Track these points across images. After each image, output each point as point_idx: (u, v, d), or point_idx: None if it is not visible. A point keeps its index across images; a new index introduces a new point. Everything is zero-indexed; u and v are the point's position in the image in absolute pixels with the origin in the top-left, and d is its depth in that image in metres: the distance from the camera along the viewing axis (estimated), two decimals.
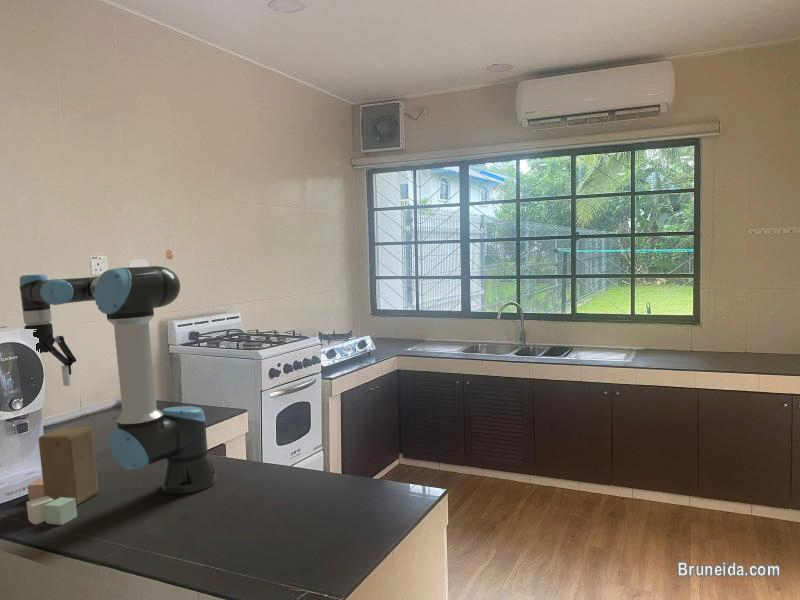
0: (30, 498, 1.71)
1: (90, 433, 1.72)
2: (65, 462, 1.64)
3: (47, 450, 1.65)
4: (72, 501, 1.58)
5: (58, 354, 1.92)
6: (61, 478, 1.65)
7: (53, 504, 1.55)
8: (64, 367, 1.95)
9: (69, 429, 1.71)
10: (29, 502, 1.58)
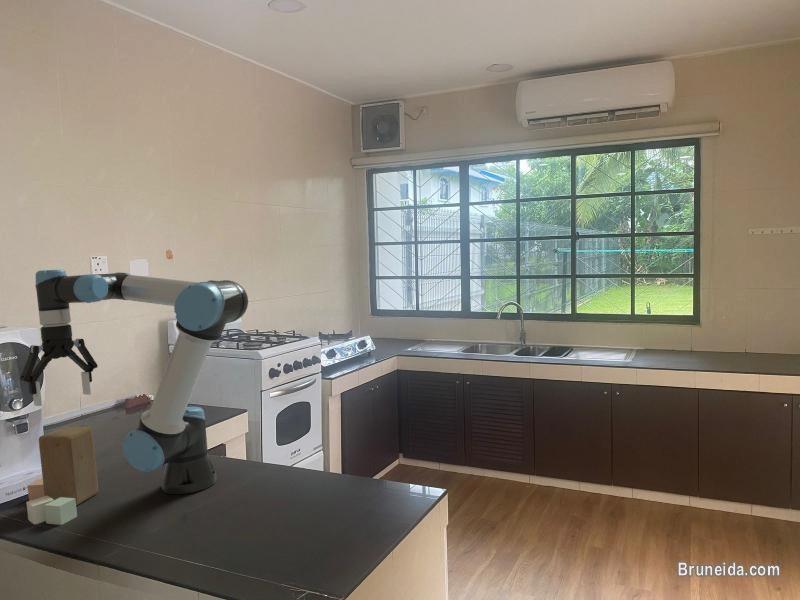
0: (30, 498, 1.71)
1: (90, 433, 1.72)
2: (65, 462, 1.64)
3: (47, 450, 1.65)
4: (72, 501, 1.58)
5: (78, 359, 1.72)
6: (61, 478, 1.65)
7: (53, 505, 1.55)
8: (84, 374, 1.74)
9: (69, 429, 1.71)
10: (29, 502, 1.58)
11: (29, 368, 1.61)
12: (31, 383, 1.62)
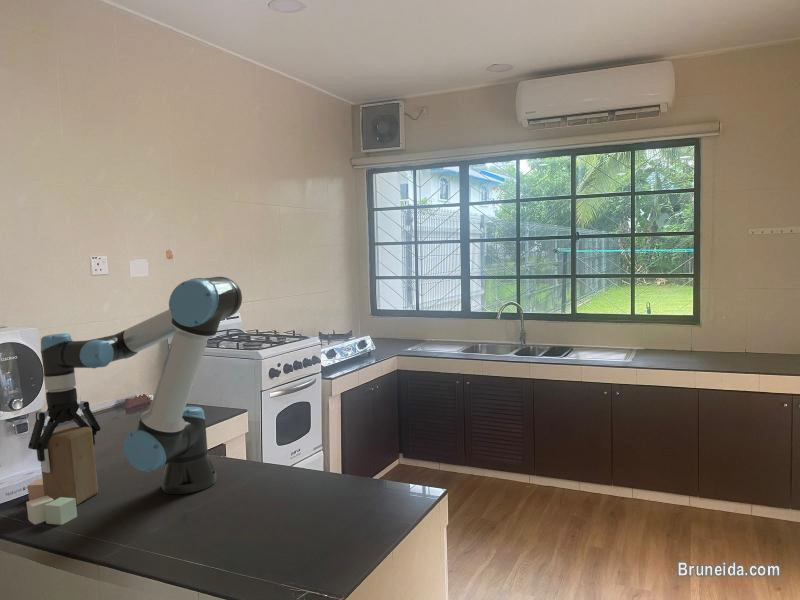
0: (30, 498, 1.71)
1: (90, 433, 1.72)
2: (65, 462, 1.64)
3: None
4: (72, 501, 1.58)
5: (82, 423, 1.72)
6: (61, 478, 1.65)
7: (53, 504, 1.55)
8: None
9: (69, 429, 1.71)
10: (29, 502, 1.58)
11: (37, 436, 1.62)
12: (39, 450, 1.63)
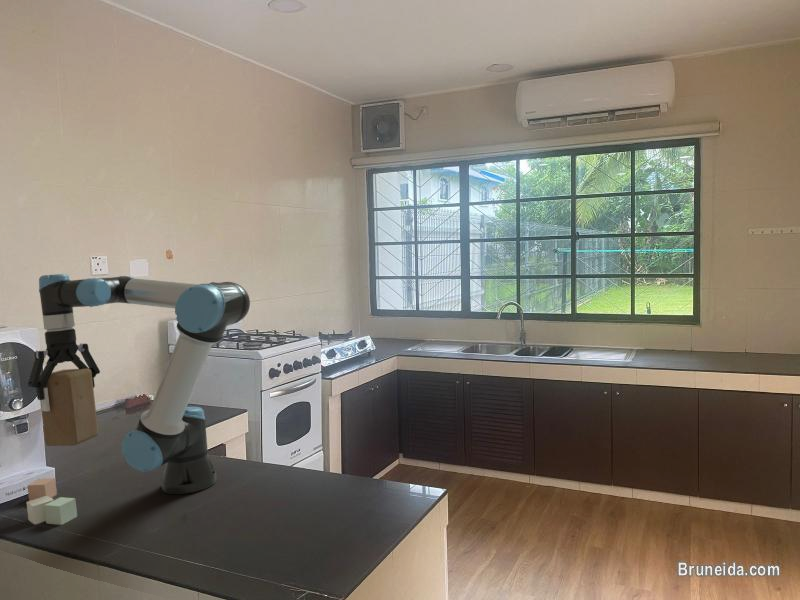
0: (30, 498, 1.71)
1: (89, 374, 1.72)
2: (65, 400, 1.64)
3: None
4: (72, 501, 1.58)
5: (81, 364, 1.72)
6: (61, 417, 1.65)
7: (53, 505, 1.55)
8: None
9: (68, 370, 1.71)
10: (29, 502, 1.58)
11: (36, 374, 1.61)
12: (39, 389, 1.62)
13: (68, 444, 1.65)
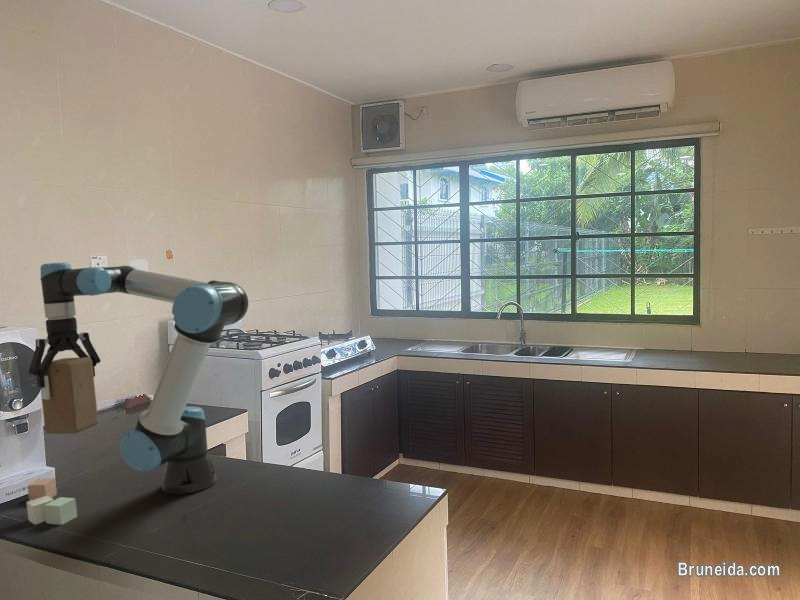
0: (30, 498, 1.71)
1: (90, 363, 1.72)
2: (65, 388, 1.64)
3: None
4: (72, 501, 1.58)
5: (81, 353, 1.72)
6: (61, 405, 1.65)
7: (53, 504, 1.55)
8: None
9: (69, 359, 1.71)
10: (29, 502, 1.58)
11: (37, 362, 1.62)
12: (39, 377, 1.63)
13: (68, 432, 1.66)
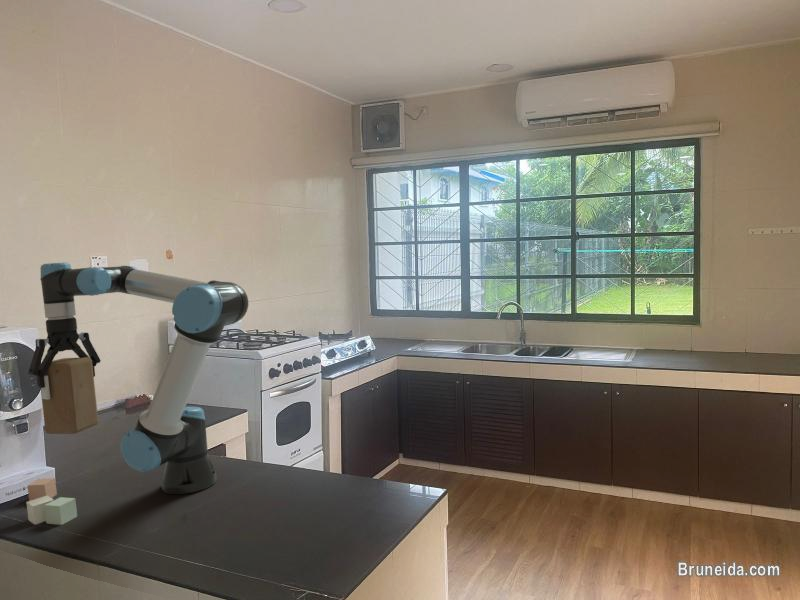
0: (30, 498, 1.71)
1: (90, 363, 1.72)
2: (65, 388, 1.64)
3: None
4: (72, 501, 1.58)
5: (81, 353, 1.72)
6: (61, 405, 1.65)
7: (53, 504, 1.55)
8: None
9: (69, 359, 1.71)
10: (29, 502, 1.58)
11: (37, 362, 1.62)
12: (39, 377, 1.63)
13: (68, 432, 1.66)
